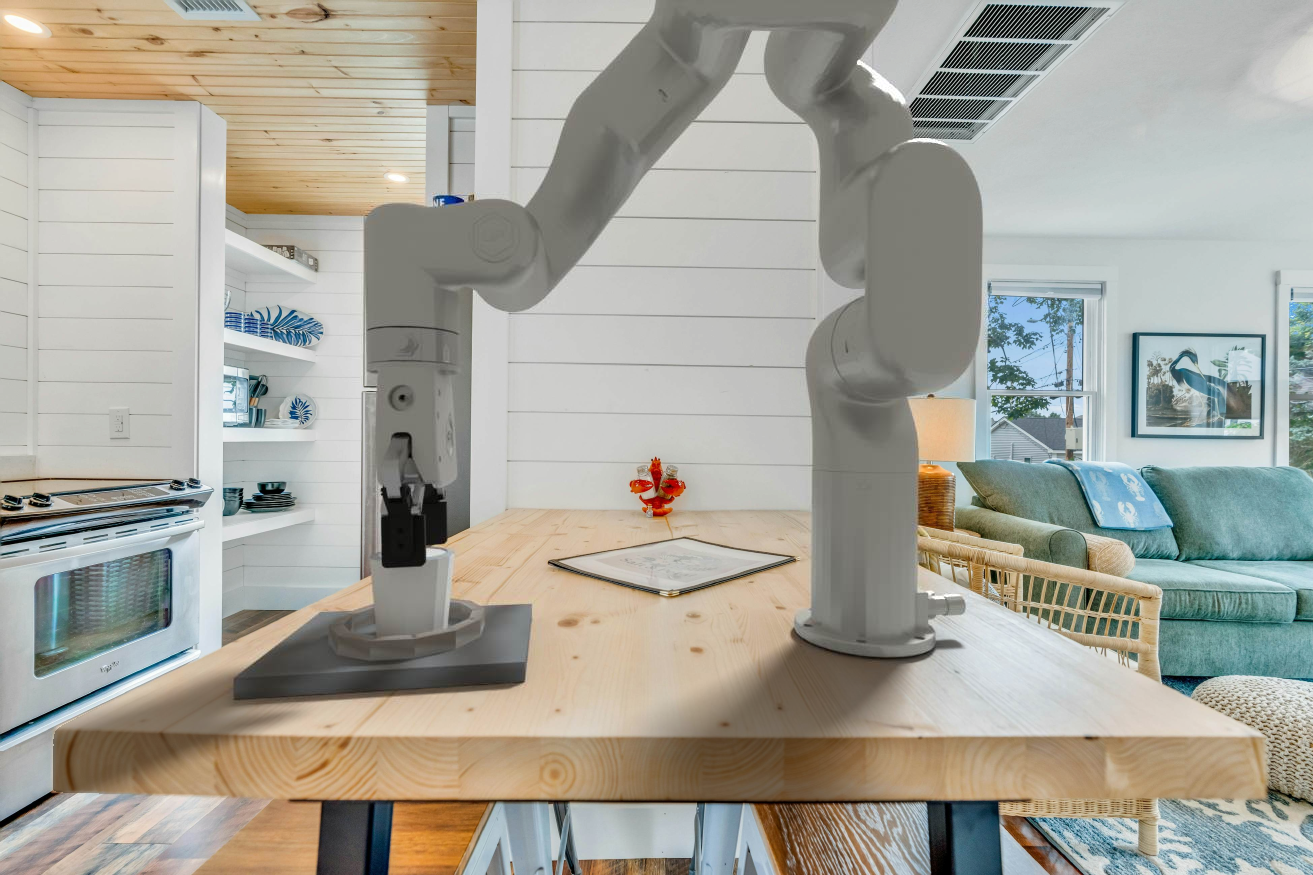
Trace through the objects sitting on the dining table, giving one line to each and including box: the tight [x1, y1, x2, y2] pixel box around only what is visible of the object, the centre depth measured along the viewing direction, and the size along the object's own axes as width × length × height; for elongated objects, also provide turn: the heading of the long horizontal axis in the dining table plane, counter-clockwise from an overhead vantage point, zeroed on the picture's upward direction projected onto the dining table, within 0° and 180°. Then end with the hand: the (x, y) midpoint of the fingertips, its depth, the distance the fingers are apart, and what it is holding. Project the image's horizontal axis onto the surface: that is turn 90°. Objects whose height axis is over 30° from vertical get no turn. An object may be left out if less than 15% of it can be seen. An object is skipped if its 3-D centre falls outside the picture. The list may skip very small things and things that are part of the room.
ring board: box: [232, 597, 533, 700], centre depth 52 cm, size 20×16×3 cm
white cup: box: [369, 546, 456, 636], centre depth 52 cm, size 7×7×7 cm
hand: (418, 554), depth 52 cm, fingers open, 9 cm apart
